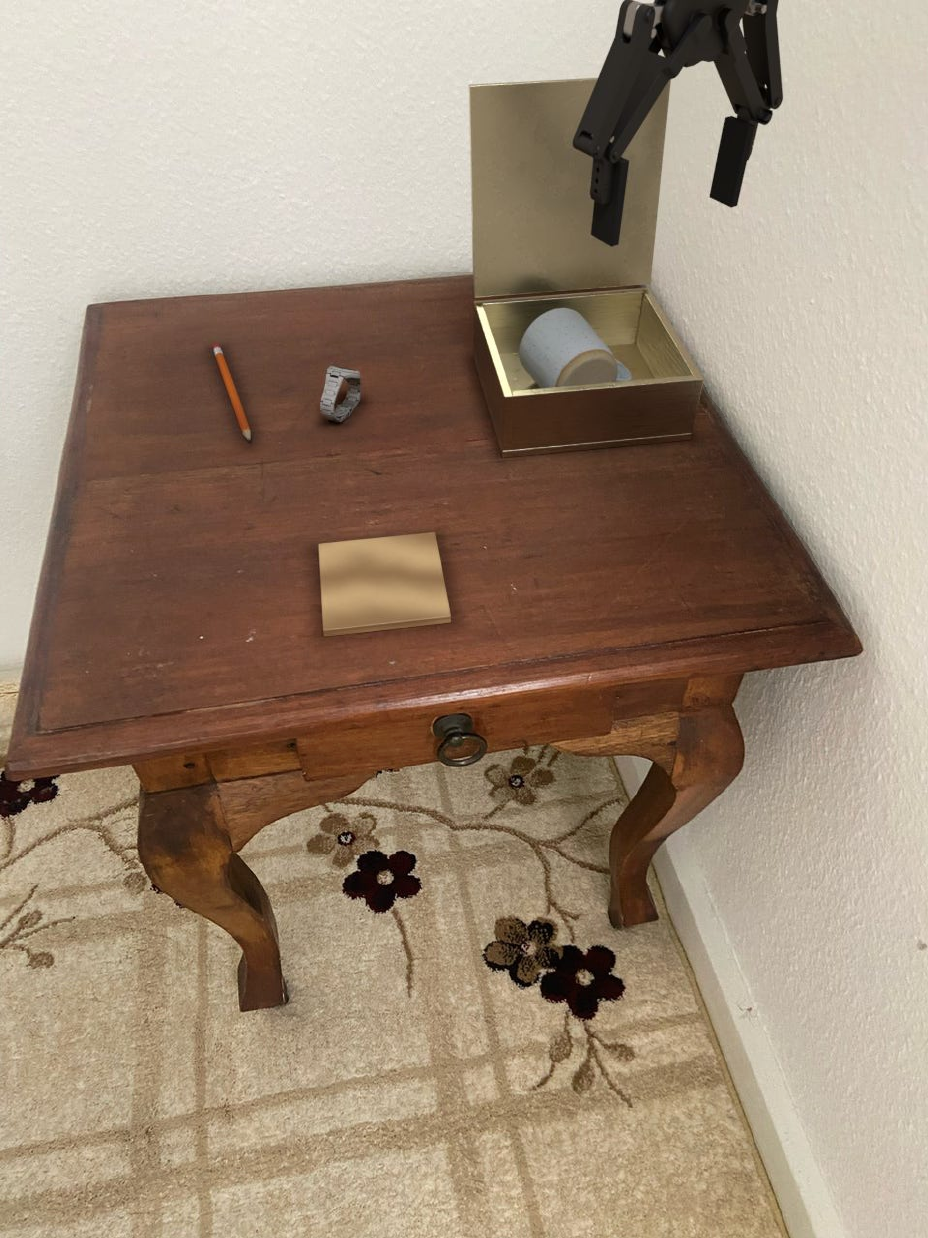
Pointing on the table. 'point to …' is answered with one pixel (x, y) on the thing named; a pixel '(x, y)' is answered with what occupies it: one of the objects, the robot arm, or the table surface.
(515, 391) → the open metal box
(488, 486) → the table surface
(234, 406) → the pencil
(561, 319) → the ceramic mug
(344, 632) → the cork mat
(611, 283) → the box lid
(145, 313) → the table surface
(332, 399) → the wristwatch
